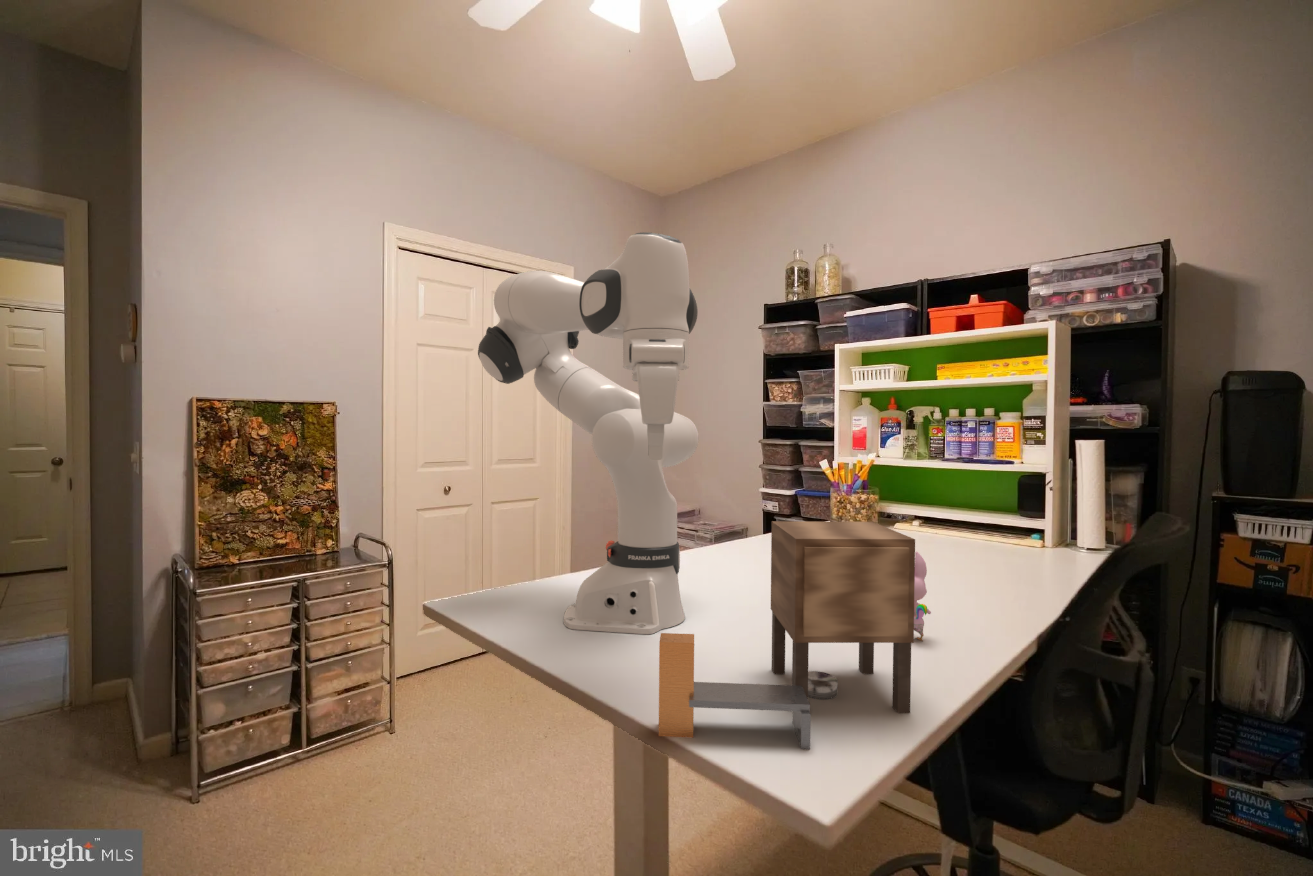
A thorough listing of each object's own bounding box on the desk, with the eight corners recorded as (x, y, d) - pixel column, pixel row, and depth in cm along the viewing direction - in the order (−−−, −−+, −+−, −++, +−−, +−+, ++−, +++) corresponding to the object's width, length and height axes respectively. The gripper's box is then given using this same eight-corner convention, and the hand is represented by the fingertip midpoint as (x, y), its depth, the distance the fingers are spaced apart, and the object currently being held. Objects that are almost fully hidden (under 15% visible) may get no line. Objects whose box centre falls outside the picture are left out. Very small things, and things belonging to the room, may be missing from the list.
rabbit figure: (922, 635, 105) (924, 549, 104) (943, 647, 99) (944, 556, 99) (888, 636, 104) (890, 549, 104) (907, 649, 98) (909, 557, 98)
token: (805, 701, 79) (805, 686, 79) (795, 685, 84) (795, 671, 84) (842, 701, 80) (842, 686, 80) (830, 685, 85) (830, 671, 84)
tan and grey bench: (657, 743, 68) (658, 646, 68) (660, 717, 74) (661, 628, 74) (810, 749, 67) (811, 651, 67) (800, 723, 73) (801, 633, 73)
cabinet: (795, 716, 75) (797, 539, 74) (769, 669, 89) (771, 521, 89) (914, 716, 75) (917, 540, 75) (870, 669, 90) (872, 521, 89)
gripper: (633, 363, 91) (632, 455, 91) (631, 345, 70) (630, 463, 71) (675, 364, 91) (674, 455, 91) (685, 345, 71) (684, 463, 71)
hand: (655, 458), depth 81 cm, fingers open, 3 cm apart
